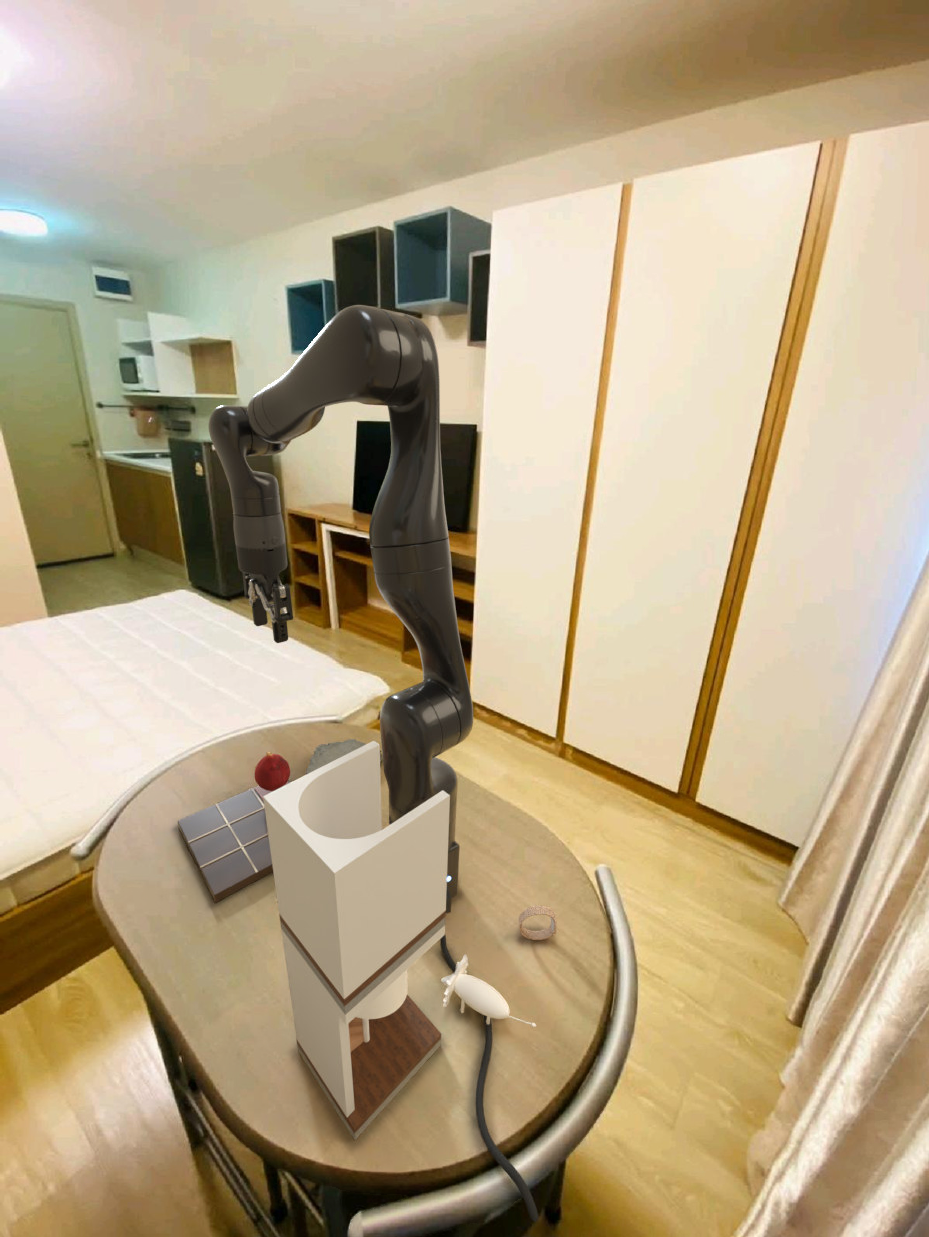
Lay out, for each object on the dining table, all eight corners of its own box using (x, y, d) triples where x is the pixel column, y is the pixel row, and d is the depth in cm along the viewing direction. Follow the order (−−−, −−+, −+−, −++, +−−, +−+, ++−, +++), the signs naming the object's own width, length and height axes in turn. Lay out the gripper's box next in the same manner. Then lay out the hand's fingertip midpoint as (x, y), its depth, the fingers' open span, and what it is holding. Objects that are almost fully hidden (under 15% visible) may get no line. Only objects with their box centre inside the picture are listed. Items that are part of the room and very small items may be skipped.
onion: (295, 778, 94) (292, 742, 91) (286, 801, 89) (282, 763, 86) (263, 778, 94) (258, 741, 91) (252, 801, 89) (246, 762, 86)
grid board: (332, 839, 84) (331, 831, 83) (215, 903, 73) (213, 894, 72) (284, 781, 96) (283, 773, 95) (178, 827, 85) (176, 819, 84)
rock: (282, 776, 97) (280, 755, 95) (349, 739, 109) (349, 720, 107) (322, 806, 90) (321, 784, 89) (389, 763, 102) (389, 743, 101)
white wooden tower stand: (355, 1140, 50) (334, 873, 37) (297, 1050, 57) (263, 796, 43) (440, 1044, 58) (449, 795, 44) (381, 975, 64) (374, 740, 51)
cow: (430, 1007, 61) (431, 981, 59) (454, 969, 65) (455, 943, 64) (523, 1071, 56) (527, 1044, 54) (542, 1025, 60) (547, 998, 58)
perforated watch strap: (554, 945, 69) (558, 918, 67) (518, 944, 69) (521, 918, 67) (551, 926, 71) (554, 900, 69) (516, 925, 71) (519, 899, 69)
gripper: (220, 534, 85) (233, 624, 92) (254, 554, 76) (266, 653, 82) (265, 529, 90) (275, 615, 96) (302, 547, 80) (310, 641, 87)
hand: (270, 632), depth 89 cm, fingers open, 8 cm apart
